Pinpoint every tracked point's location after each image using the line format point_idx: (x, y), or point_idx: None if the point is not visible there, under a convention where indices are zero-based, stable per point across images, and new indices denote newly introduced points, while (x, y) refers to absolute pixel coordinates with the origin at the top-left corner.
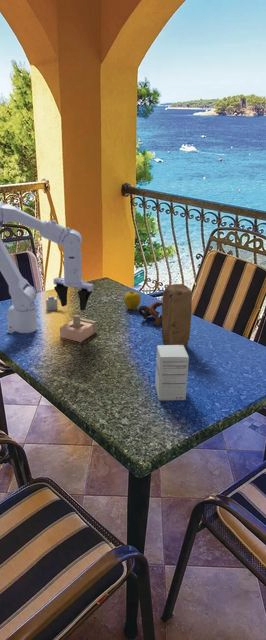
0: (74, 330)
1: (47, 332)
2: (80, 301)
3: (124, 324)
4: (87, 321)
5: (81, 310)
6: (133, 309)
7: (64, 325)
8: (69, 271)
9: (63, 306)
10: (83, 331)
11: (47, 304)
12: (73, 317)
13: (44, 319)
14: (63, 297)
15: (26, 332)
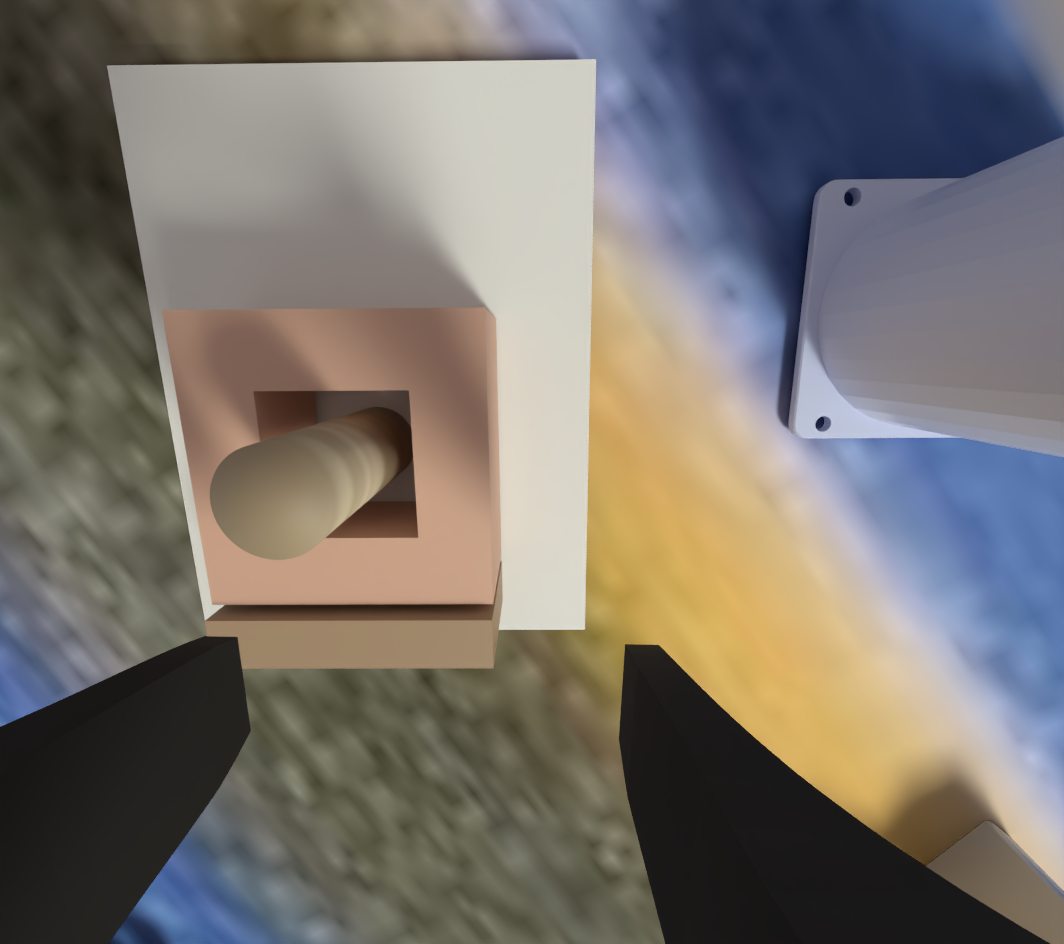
0: (260, 317)
1: (716, 415)
2: (1, 759)
3: (246, 863)
4: (296, 620)
5: (209, 637)
6: None
7: (471, 393)
8: None
9: (625, 652)
10: (186, 382)
11: (1042, 881)
12: (297, 449)
13: (908, 651)
14: (680, 828)
15: (887, 217)
